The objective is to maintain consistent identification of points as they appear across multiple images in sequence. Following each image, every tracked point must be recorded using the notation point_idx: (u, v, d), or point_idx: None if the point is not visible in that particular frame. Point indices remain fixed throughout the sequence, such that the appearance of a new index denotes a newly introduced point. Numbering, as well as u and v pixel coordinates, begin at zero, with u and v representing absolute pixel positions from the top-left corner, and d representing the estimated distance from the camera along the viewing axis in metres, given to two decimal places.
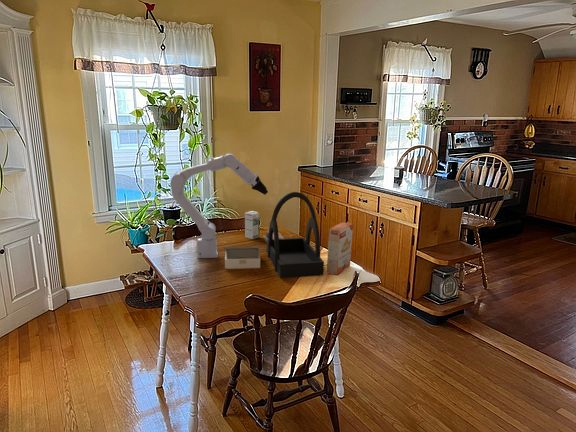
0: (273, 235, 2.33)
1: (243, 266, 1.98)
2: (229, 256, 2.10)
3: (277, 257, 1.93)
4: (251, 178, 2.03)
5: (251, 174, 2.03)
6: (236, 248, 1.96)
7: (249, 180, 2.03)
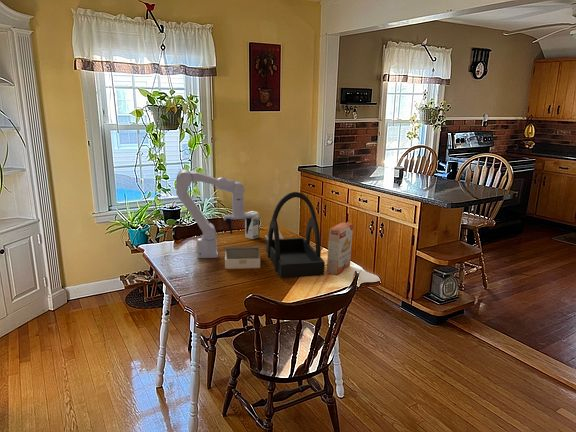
0: (273, 235, 2.33)
1: (243, 266, 1.98)
2: (229, 256, 2.10)
3: (278, 257, 1.93)
4: None
5: None
6: (236, 248, 1.96)
7: (244, 214, 2.11)
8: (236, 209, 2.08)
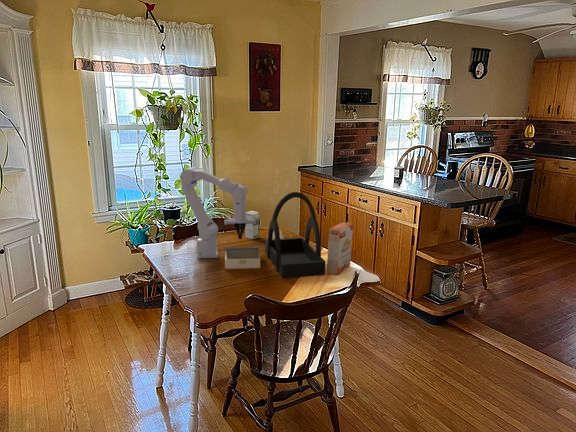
0: (274, 235, 2.33)
1: (243, 266, 1.98)
2: (229, 256, 2.10)
3: (278, 257, 1.93)
4: None
5: None
6: (236, 248, 1.96)
7: (245, 218, 2.04)
8: (238, 213, 2.01)
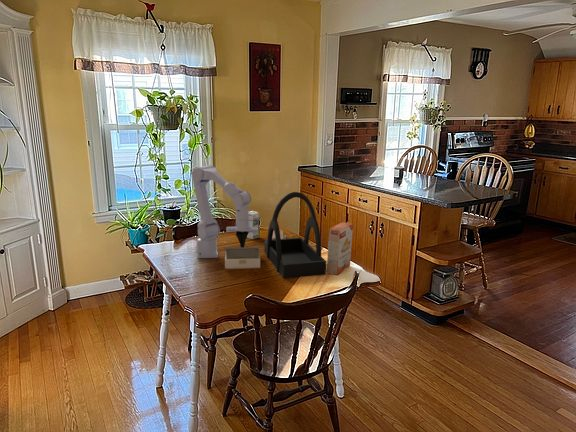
0: (274, 235, 2.33)
1: (243, 266, 1.98)
2: (229, 256, 2.10)
3: (279, 257, 1.93)
4: (248, 226, 1.97)
5: None
6: (236, 248, 1.96)
7: (247, 227, 1.95)
8: (239, 221, 1.93)
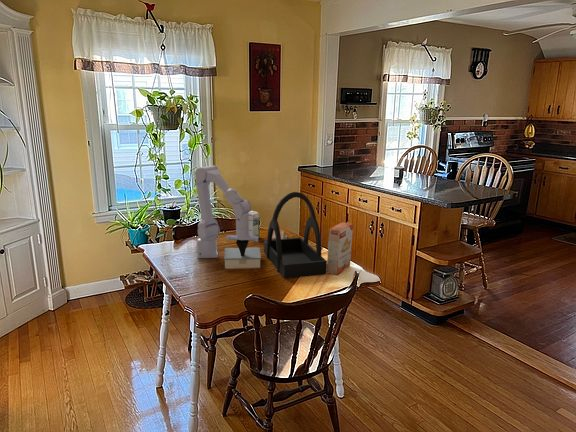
0: (274, 235, 2.33)
1: (243, 266, 1.98)
2: None
3: (280, 258, 1.93)
4: (248, 235, 1.98)
5: None
6: (236, 259, 1.96)
7: (248, 235, 1.96)
8: (239, 230, 1.94)
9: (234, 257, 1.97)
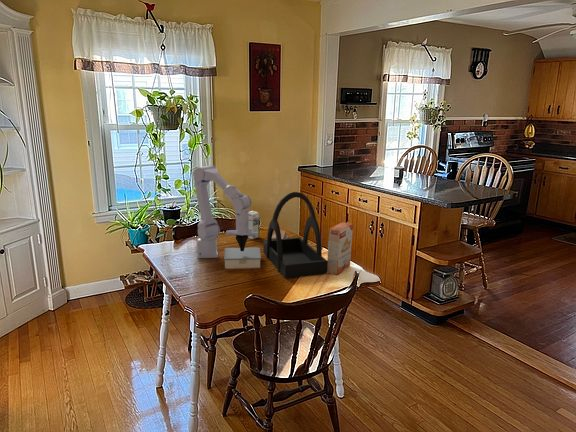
0: (274, 235, 2.33)
1: (243, 266, 1.98)
2: None
3: (280, 258, 1.92)
4: (248, 230, 1.97)
5: None
6: (236, 259, 1.96)
7: (247, 230, 1.96)
8: (239, 225, 1.94)
9: (234, 257, 1.97)
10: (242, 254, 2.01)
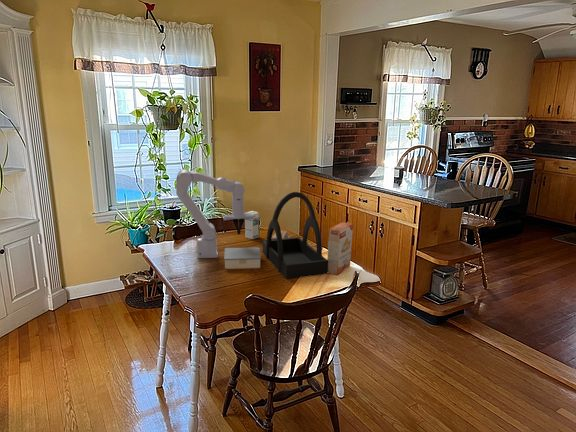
0: (275, 235, 2.33)
1: (243, 266, 1.98)
2: None
3: (281, 258, 1.92)
4: None
5: None
6: (236, 259, 1.96)
7: (243, 214, 2.11)
8: (236, 209, 2.08)
9: (234, 257, 1.97)
10: (242, 254, 2.01)
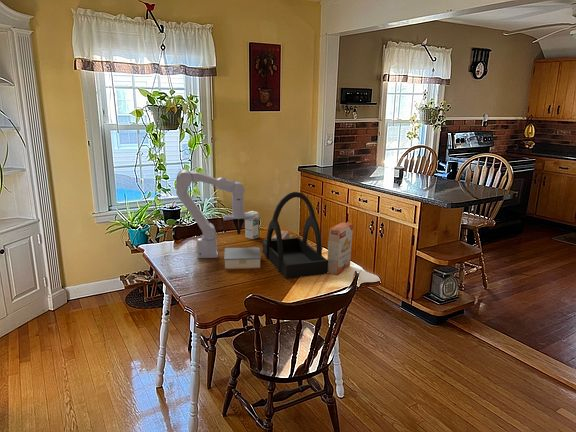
0: (275, 235, 2.33)
1: (243, 266, 1.98)
2: None
3: (281, 258, 1.92)
4: None
5: None
6: (236, 259, 1.96)
7: (243, 214, 2.11)
8: (236, 209, 2.08)
9: (234, 257, 1.97)
10: (242, 254, 2.01)
